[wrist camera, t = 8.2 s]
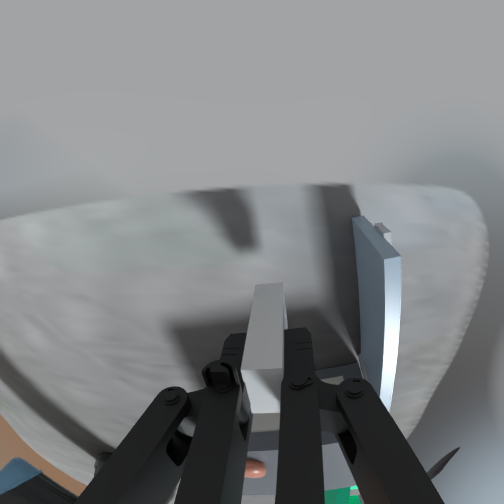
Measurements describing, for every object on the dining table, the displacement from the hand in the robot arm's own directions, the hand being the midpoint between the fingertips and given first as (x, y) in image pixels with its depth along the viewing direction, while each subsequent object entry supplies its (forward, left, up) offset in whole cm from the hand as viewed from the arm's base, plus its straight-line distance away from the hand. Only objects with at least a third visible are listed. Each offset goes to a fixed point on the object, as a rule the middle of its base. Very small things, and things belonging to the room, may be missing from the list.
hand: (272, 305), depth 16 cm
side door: (-3, -6, -3) cm, 8 cm away
